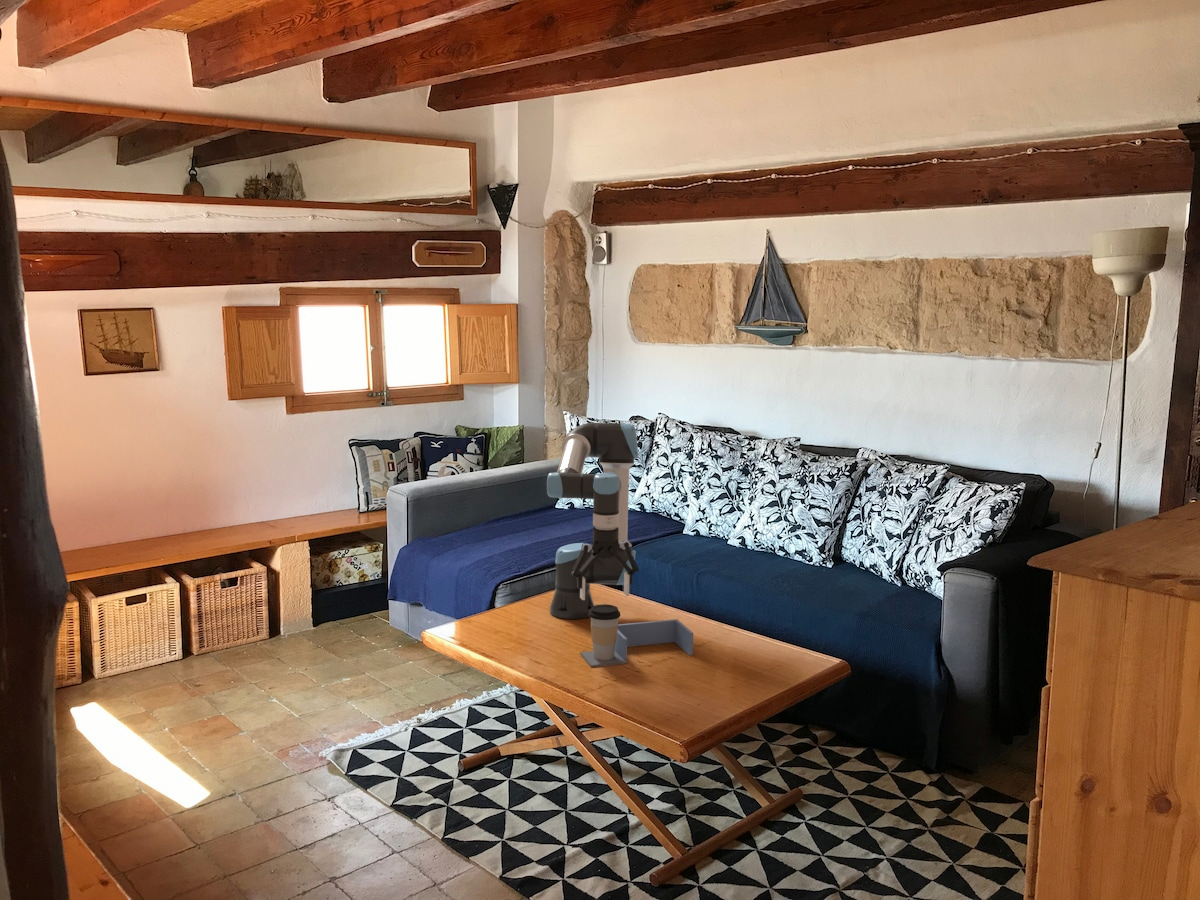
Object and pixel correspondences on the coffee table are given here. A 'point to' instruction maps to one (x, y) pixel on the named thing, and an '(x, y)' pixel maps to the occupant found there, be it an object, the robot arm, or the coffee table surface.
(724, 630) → the coffee table surface
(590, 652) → the coaster
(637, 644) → the grey u-shaped wall
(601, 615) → the coffee cup
